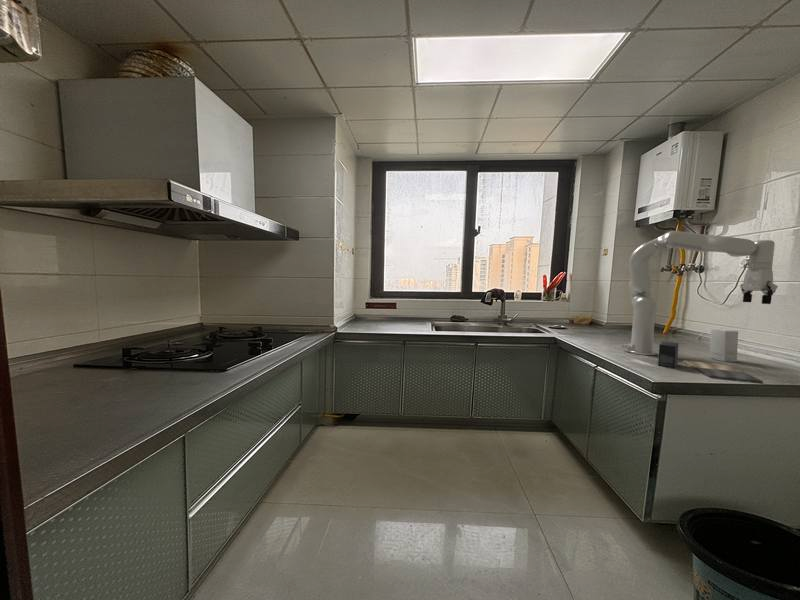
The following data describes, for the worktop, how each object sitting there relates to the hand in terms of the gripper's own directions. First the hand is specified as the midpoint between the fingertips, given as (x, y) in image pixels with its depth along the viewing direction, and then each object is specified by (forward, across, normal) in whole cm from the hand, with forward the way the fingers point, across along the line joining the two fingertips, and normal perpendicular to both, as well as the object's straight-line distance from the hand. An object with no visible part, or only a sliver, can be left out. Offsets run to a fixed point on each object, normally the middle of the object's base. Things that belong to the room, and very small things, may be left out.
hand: (756, 302), depth 151 cm
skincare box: (+30, -7, -7) cm, 32 cm away
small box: (+30, +10, -41) cm, 52 cm away
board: (+30, +17, -26) cm, 43 cm away
